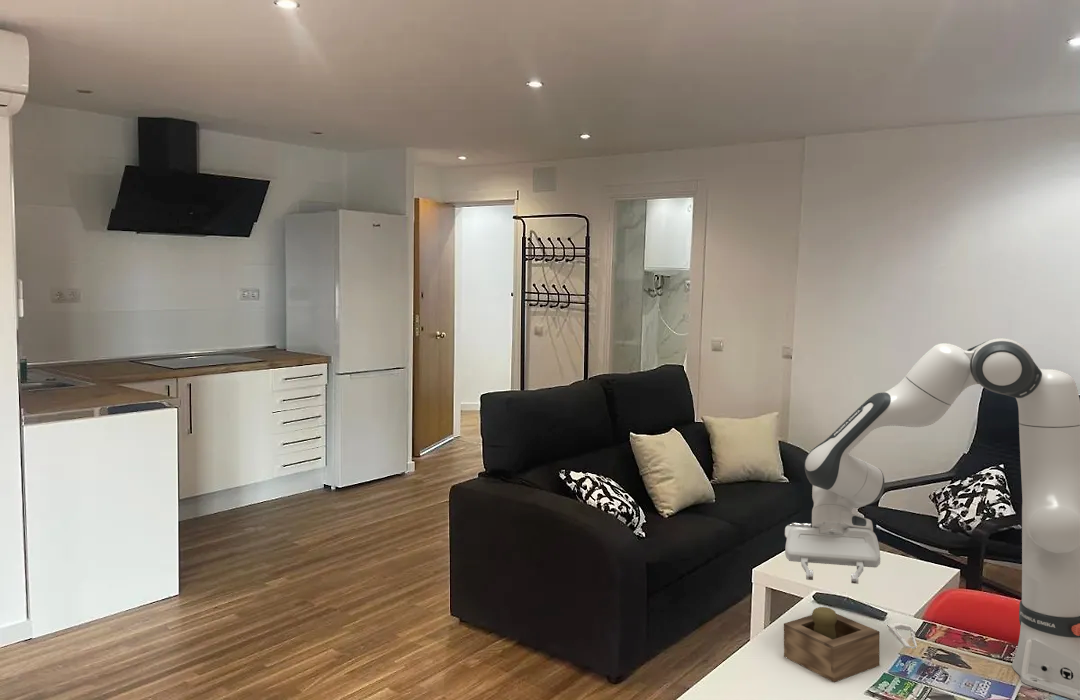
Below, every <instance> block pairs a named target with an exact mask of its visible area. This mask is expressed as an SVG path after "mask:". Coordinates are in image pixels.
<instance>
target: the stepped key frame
mask: <svg viewBox="0 0 1080 700" xmlns="http://www.w3.org/2000/svg"><path fill="white" fill-rule="evenodd" d="M887 625H888V626H889V628H888V630H889V631H890V633H892V635H893V636H896V637H895V638H896V640H898V641H899V642H900V643H901V645H902V646H904V648H906V649H910V648H912V649H911V650H914V649H917V648H918V644H917V641H916V630H915V629H914V628H913V626H911V624H906V623H902V622H898V621H897V622H894V623H891V624H887ZM897 629H898V630H903V629H905V631H909V630H910V636H911V640H912V643H913V646H911V645H910V644H909V643H908V641H906V639H905V638H904V637H903V636H902V635H901V634H900V632H899V631H898V630H897ZM916 647H917V648H916Z"/></svg>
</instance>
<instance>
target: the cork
mask: <svg viewBox="0 0 1080 700" xmlns="http://www.w3.org/2000/svg"><path fill="white" fill-rule="evenodd" d="M836 614H837V613H836V611H835V610H834V609H832V608H830V607H827V606H820V607H816V608H814V609H813V610H812V613H811V615H812V619H813V622H814V623H815V625H814V631H815V632H817V633H819V634H822V635H824V636H826V637H828V638H830V639H832V640H833V639H836V632H835V624H836V622H837V615H836Z"/></svg>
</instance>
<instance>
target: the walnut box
mask: <svg viewBox="0 0 1080 700" xmlns="http://www.w3.org/2000/svg"><path fill="white" fill-rule="evenodd" d="M836 615H837V622H836V624H835V632H836V639H833V640H832V639H830V638H828V637H826V636H824V635H822V634H819V633H817V632H815V631H814V625H815V623H814V622H813V619H812V614H810V615H807V616H804V617H801V618H797V619H794V620H791V621H787V622H784V623H783V657H784V658H786V657H787V658H786V659H788V660H789V661H792V662H794V663H796V664H798V665H800V666H802V667H803V668H805V669H808V670H809V671H811V672H813V673H815V674H818V675H819V676H821V677H823V678H825V679H827V680H829V681H831V682H832V683H835V682H839V681H841V680H844V679H847V678H849V677H852V676H855V675H857V674H860V673H863V672H865V671H866V672H867V671H868V670H872V669H874V668H877V667H879V666H880V663H881V661H880V631H879V630H878V629H874V628H872V627H870V626H867V625H865V624H862V623H860V622H857V621H855V620H852V619H851V618H848V617H846V616H844V615H841V614H838V613H836Z"/></svg>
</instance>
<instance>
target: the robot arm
mask: <svg viewBox="0 0 1080 700" xmlns="http://www.w3.org/2000/svg"><path fill="white" fill-rule="evenodd" d="M974 385H980V386H981V387H983V388H984V389H986V390H987V391H990V392H993V393H995V394H999V395H1005V396H1008V397H1012V398H1015V400H1016V402H1017V408H1018V428H1019V429H1018V430H1019V431H1018V434H1019V436H1018V437H1019V452H1020V453H1019V456H1020V457H1019V458H1020V459H1019V460H1020V475H1021V494H1022V495H1021V496H1022V499H1021V500H1022V502H1021V503H1022V504H1021V531H1022V532H1021V543H1022V544H1021V549H1022V550H1021V552H1022V553H1021V562H1022V563H1021V564H1022V565H1021V600H1020V601H1019V609H1018V610H1019V611H1018V620H1019V625H1020V627H1019V628H1020V629H1019V637H1018V644H1017V648H1016V652H1015V656H1014V659H1013V660H1012V663H1011V664H1012V665H1011V666H1012V669H1013V670H1014V671H1015V672H1016V674H1018V675H1019V677H1020V681H1021V682H1022V683H1023V684H1025V685H1027V686H1031V687H1033V688H1037V689H1040V690H1043V691H1046V692H1050V693H1052V694H1056V695H1058V696H1060V697H1061V696H1062V697H1065V698H1068V699H1070V700H1080V395H1079V390H1078V386H1077V383H1076V380H1075V379H1074V377H1072V376H1071V375H1070V374H1069V373H1067V372H1064V371H1062V370H1059V369H1052V368H1046V369H1045V368H1041V367H1039V366H1038V365H1037V364H1036V363H1035V361H1034V360H1033V357H1032V355H1031V353H1030V352H1029V350H1028V349H1027V348H1026V347H1025V346H1024V345H1023V344H1022V343H1020V342H1018V341H1016V340H1015V339H1014V340H1013V339H1011V338H1007V337H1006V338H1005V337H1003V338H1002V337H1000V338H999V337H998V338H997V337H996V338H992V339H988V340H986V341H984V342H982V343H980V344H978V345H975V346H971V348H968V349H963V348H962V347H960V346H958V345H956V344H952V343H945V342H944V343H943V342H942V343H937V344H935V345H934V346H932V347H931V348H930V349H929V350H928V351H927V352H926V353H924V354H923V356H921V357H920V358H919V359H918V360H917V361H916V362H915V364H913V366H912V367H911V368H910V369H909V371H908V372H907V373H906V375H904V377H903V378H902V380H900V381H899V382H898V383H897V384H895V385H894V386H893V387H891V388H889V389H888V390H886V391H884V392H878V393H875V394H873V395H872V396H870V397H869V398H868V399H866V400H865V401H864V402H863V403H862V404H861V405H860V406H859V407H858V408H857V409H856V410H855V411H854V412H853V413H851V415H850V416H848V418H846V420H844V422H842V423H841V424H840V425H839V426H838V428H837V429H835V430H834V431H833V432H832V434H830V435H828V437H827V438H826V439H825V440H824V441H822V442H820V443H819V444H817V445H816V446H815V447H814V448H812V449H811V450H810V451H809V452H808V454H807V456H805V460H804V463H803V464H804V465H803V466H804V471H805V475H806V478H807V480H808V481H809V483H810V484H811V486H812V488H811V489H812V490H811V491H812V492H811V493H812V494H811V496H812V497H811V498H812V501H813V507H812V509H811V523H809V522H808V523H807V522H806V523H805V522H803V523H798V522H791V523H790V524H787V525H786V526H785V528H784V537H785V538H786V541H785V557H786V559H787V560H788V561H789V562H796V563H797V562H798V563H800V564H801V567H802V570H803V571H804V572H805V579H806V580H807V581H814V569H810V568H809V563H811V564H821V565H822V564H823V565H834V566H835V565H838V566H848V567H849V566H851V567H856V571H855V572H851V574H850V578H851V579H850V582H851V584H857V585H858V584H859V577H860V576H861V575H862V573H863V572H864V568H865V567H867V568H874V569H875V568H878V567H879V566H880V564H881V551H880V545H879V541H878V537H877V535H876V532H874V525H873V521H872V520H871V519H870V518H866V517H863V516H860V515H857V514H854V513H852V511H853V510H854V509H859V508H862V507H866V506H869V505H871V504H873V503H875V502H877V501H878V500H880V499H881V498H882V495H883V493H884V490H885V483H886V482H885V476H884V472H883V471H882V470H881V469H880V468H879V467H877V466H875V465H873V464H871V463H869V462H868V461H866V460H863V459H861V458H859V457H857V456H855V455H852V454H850V452H851V451H852V450H854V449H855V447H857V446H858V445H859V444H860V442H861V441H863V440H864V439H865V438H866V437H867V436H868V435H869V434H870V433H871V432H873V431H875V430H877V429H880V428H882V427H890V426H891V427H892V426H893V427H894V426H896V427H904V428H905V427H906V428H923V427H928V426H931V425H934V424H935V423H936V422H938V421H939V420H941V418H942V417H943V416H944V415H946V413H947V411H948V410H949V409H950V407H952V405H953V404H954V402H955V401H956V400H957V399H958V397H959V396H960V395H961V394H962V393H963V392H964V391H965V390H966V389H967V388H969V387H972V386H974Z"/></svg>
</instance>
